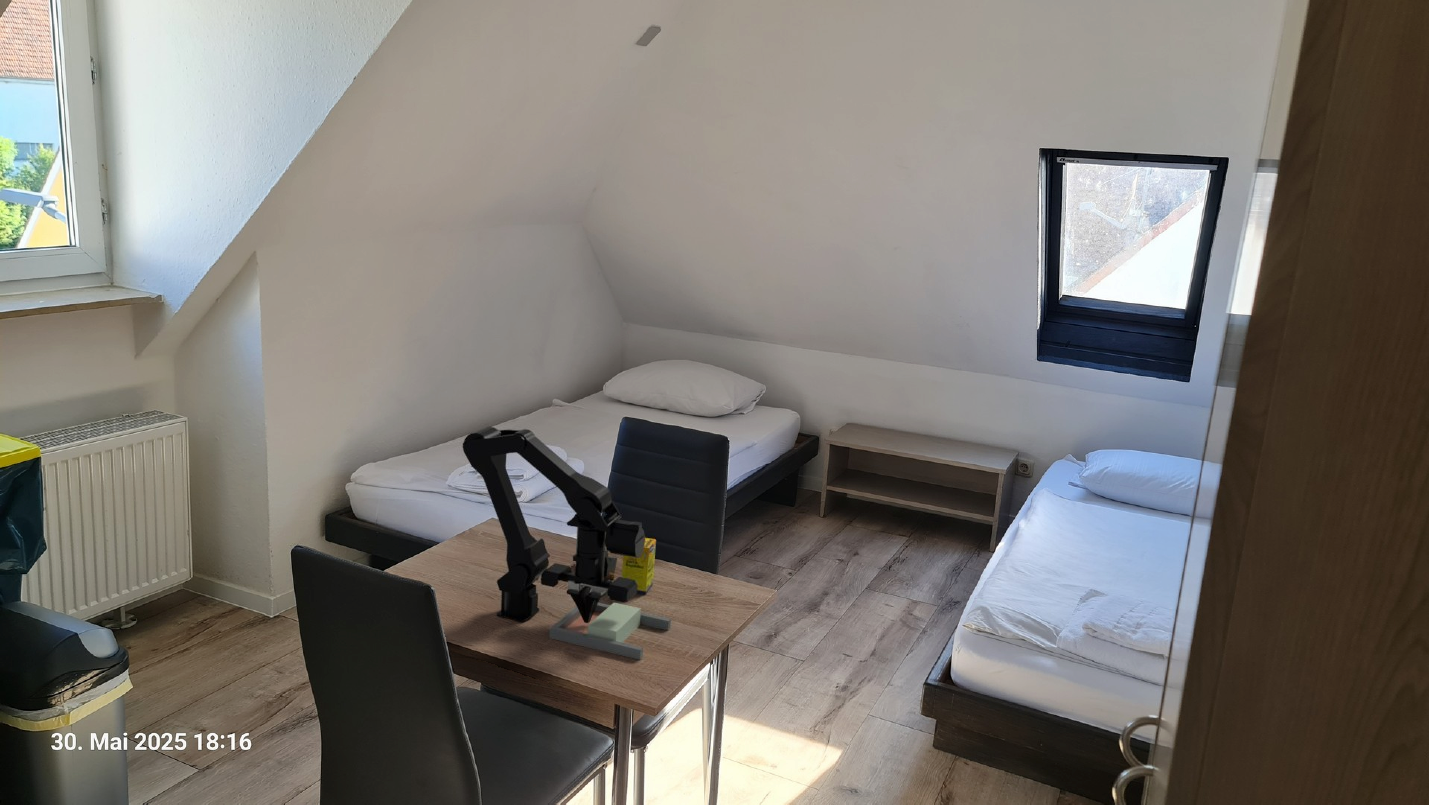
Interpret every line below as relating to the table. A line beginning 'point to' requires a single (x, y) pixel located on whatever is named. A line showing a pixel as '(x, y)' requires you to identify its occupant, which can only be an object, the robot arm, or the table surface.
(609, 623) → the block
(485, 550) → the table surface
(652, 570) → the supplement box
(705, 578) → the table surface
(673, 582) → the table surface
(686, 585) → the table surface
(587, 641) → the channel
